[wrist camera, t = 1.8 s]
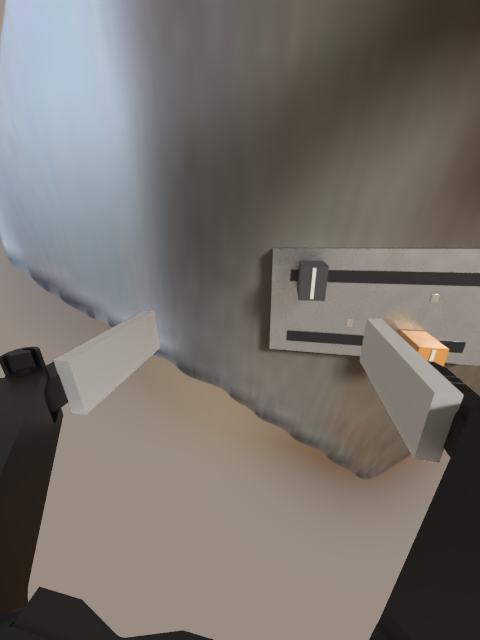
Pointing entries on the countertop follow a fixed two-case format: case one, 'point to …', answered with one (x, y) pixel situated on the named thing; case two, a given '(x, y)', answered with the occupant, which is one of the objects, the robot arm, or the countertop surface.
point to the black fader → (312, 280)
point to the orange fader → (426, 346)
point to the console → (379, 298)
